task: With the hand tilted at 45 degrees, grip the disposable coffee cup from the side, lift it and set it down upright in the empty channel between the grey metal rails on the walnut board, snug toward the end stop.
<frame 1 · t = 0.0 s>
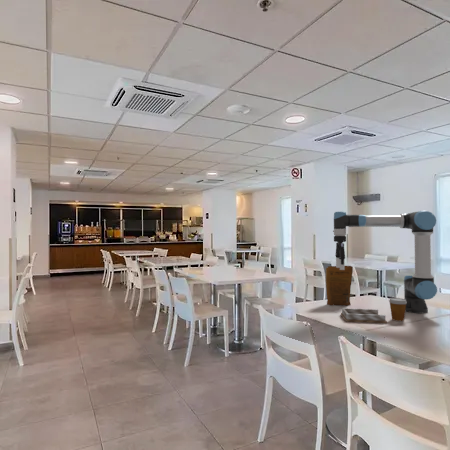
hand: (340, 268, 220), 28 cm above the table, tool pointing down, fingers open, 13 cm apart
rail board: (362, 318, 203), on the table
disposable coffee cup: (398, 320, 201), on the table
pancake mix bag: (339, 305, 242), on the table
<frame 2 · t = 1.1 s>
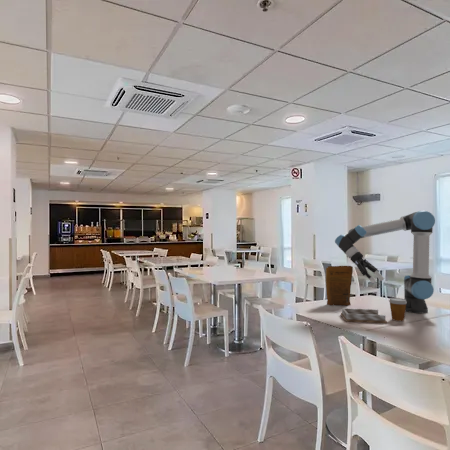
hand: (378, 280, 209), 22 cm above the table, tool tilted 45°, fingers open, 13 cm apart
nothing on the table moved.
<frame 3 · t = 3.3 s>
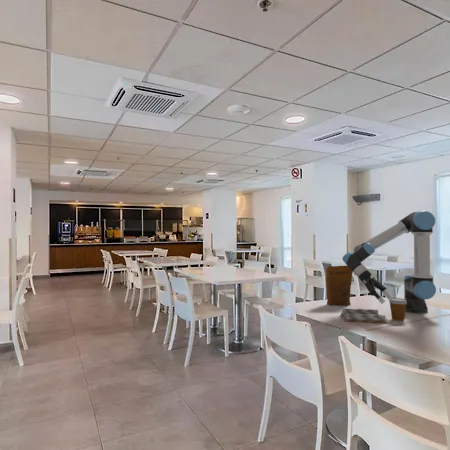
hand: (387, 300, 205), 10 cm above the table, tool tilted 45°, fingers open, 13 cm apart
nothing on the table moved.
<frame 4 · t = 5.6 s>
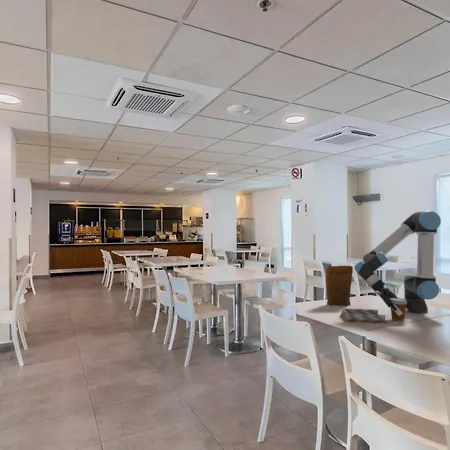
hand: (403, 313, 199), 4 cm above the table, tool tilted 45°, fingers closed on disposable coffee cup, 9 cm apart
disposable coffee cup: (398, 320, 201), on the table, touching gripper
everything else where it was.
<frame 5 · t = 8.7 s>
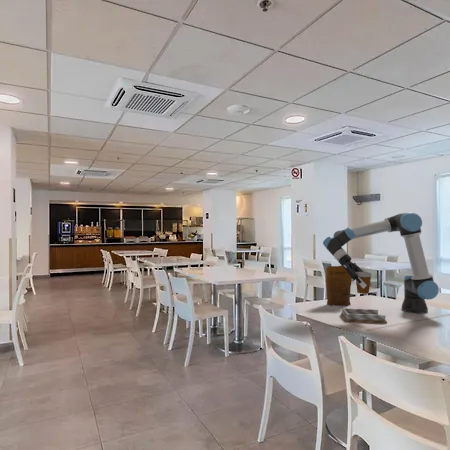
hand: (368, 286, 202), 20 cm above the table, tool tilted 45°, fingers closed on disposable coffee cup, 9 cm apart
disposable coffee cup: (362, 293, 204), point 15 cm above the table, touching gripper
everything else where it was.
when the fingers open (7 cm above the table, at t = 12.0 s): disposable coffee cup drops 2 cm, resting on rail board.
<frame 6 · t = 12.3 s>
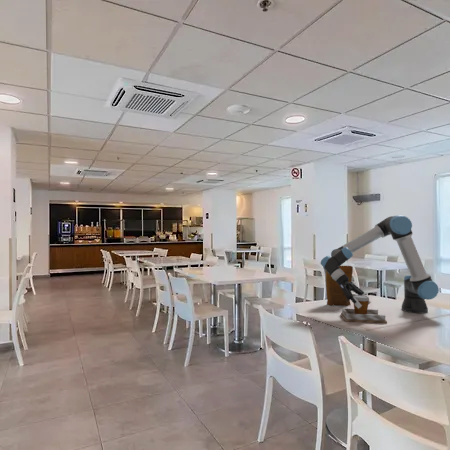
hand: (364, 305, 202), 8 cm above the table, tool tilted 45°, fingers open, 13 cm apart
disposable coffee cup: (360, 316, 204), point 1 cm above the table, touching rail board
everything else where it was.
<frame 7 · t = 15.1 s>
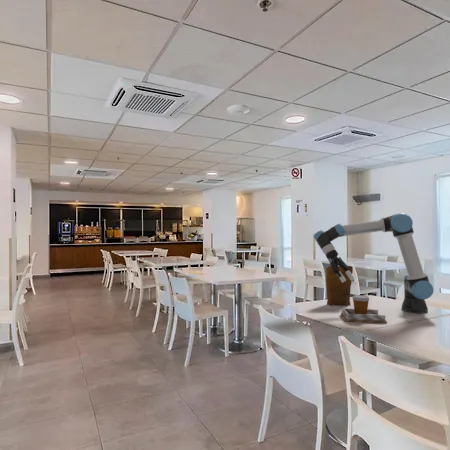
hand: (348, 280, 216), 21 cm above the table, tool tilted 35°, fingers open, 13 cm apart
nothing on the table moved.
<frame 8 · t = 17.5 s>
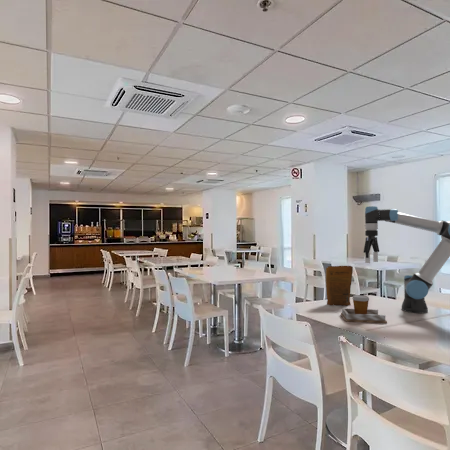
hand: (371, 262, 224), 32 cm above the table, tool pointing down, fingers open, 13 cm apart
nothing on the table moved.
at the end: disposable coffee cup inside the target area on the rail board (0.3 cm from its centre), point 1.0 cm above the rail board's base; disposable coffee cup tilted 0°; the gripper is holding nothing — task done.
